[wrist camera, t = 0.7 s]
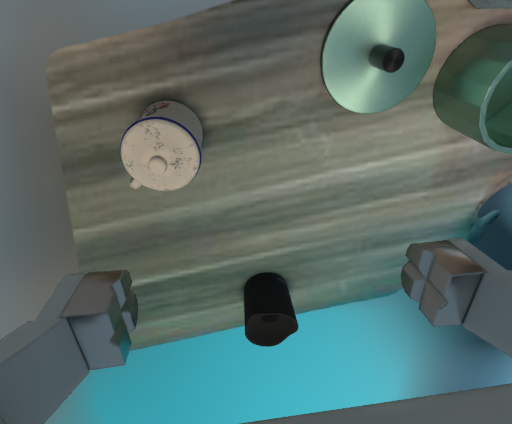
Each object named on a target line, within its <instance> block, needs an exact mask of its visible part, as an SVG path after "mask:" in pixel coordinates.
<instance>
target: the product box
mask: <svg viewBox="0 0 512 424" xmlns="http://www.w3.org/2000/svg"><path fill="white" fill-rule="evenodd" d="M469 1H470V2H471V4H472V5H473V6H474V7H475V8H477V9H481V8H484V9H486V8H512V0H469Z"/></svg>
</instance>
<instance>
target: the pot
mask: <svg viewBox="0 0 512 424" xmlns="http://www.w3.org/2000/svg"><path fill="white" fill-rule="evenodd" d="M433 99H434V107H435V110H436V113H437V115H438V117H439V118H440V119H441V120H442V121H443V122H444V123H445V124H447V125H448V126H449V127H451V128H453V129H455V130H457V131H459V132H460V133H462V134H464V135H466V136H468V137H470V138H472V139H474V140H476V141H478V142H479V143H481V144H483V145H485V146H487V147H489V148H491V149H493V150H495V151H499V152H504V153H509V154H510V153H512V24H506V25H496V26H492V27H488V28H486V29H483V30H481V31H479V32H477V33H475V34H474V35H472V36H471V37H469V38H468V39H466V40H465V41H464V42H463V43H462V44H460V45H459V46H458V47H457V48H456V49H455V50H454V52H453V53H452V54H451V55H450V56H449V58H448V59H447V61H446V62H445V64H444V65H443V67H442V69H441V71H440V73H439V75H438V78H437V81H436V84H435V88H434V96H433Z"/></svg>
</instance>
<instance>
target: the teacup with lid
mask: <svg viewBox="0 0 512 424" xmlns="http://www.w3.org/2000/svg"><path fill="white" fill-rule="evenodd" d="M202 139H203V131H202V126H201V123H200V121H199V119H198V117H197V116H196V115H195V113H194V112H193V111H192V110H191V109H189V108H188V107H187V106H185V105H183V104H181V103H178V102H175V101H159V102H156V103H154V104H152V105H150V106H149V107H148V108H147V109H146V110H145V111H144V112H143V113H142V115H141V116H140V117H139V119H138V120H137V121H136V122H135V123H134V124H132V125H131V126H130V127H129V128H128V129H127V130H126V132H125V133H124V135H123V138H122V141H121V146H120V151H121V158H122V161H123V164H124V166H125V168H126V170H127V171H128V173H129V174H130V175H131V176H132V179H131V180H130V182H129V185H130V187H132V188H133V189H138V188H139V187H140V186H141V185H144V186H146V187H148V188H151V189H155V190H160V191H170V190H175V189H179V188H181V187H183V186H185V185H187V184H188V183H189V182H191V181H192V180H193V179H194V177H195V176H196V175H197V173H198V171H199V168H200V165H201V145H202Z"/></svg>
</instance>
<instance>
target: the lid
mask: <svg viewBox="0 0 512 424" xmlns="http://www.w3.org/2000/svg"><path fill="white" fill-rule="evenodd" d="M435 44H436V25H435V20H434V16H433V13H432V11H431V9H430V7H429V5H428V4H427V2H426V1H425V0H352V1H351V2H350V3H349V4H348V5H347V6H346V7H345V8H344V9H343V10H342V11H341V12H340V14H339V15H338V16H337V18H336V19H335V21H334V23H333V24H332V26H331V28H330V30H329V32H328V34H327V37H326V40H325V43H324V47H323V52H322V76H323V80H324V83H325V86H326V88H327V90H328V92H329V94H330V95H331V96H332V98H333V99H334V100H335V101H336V102H337V103H338V104H339V105H341V106H342V107H344V108H345V109H347V110H350V111H352V112H356V113H363V114H368V113H376V112H380V111H383V110H386V109H388V108H391V107H392V106H394V105H396V104H398V103H399V102H401V101H402V100H403V99H405V98H406V97H407V96H408V95H409V94H410V93H411V92H412V91H413V90H414V89H415V88H416V87H417V85H418V84H419V83H420V81H421V80H422V78H423V77H424V75H425V73H426V71H427V70H428V68H429V65H430V63H431V60H432V57H433V54H434V49H435Z"/></svg>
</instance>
